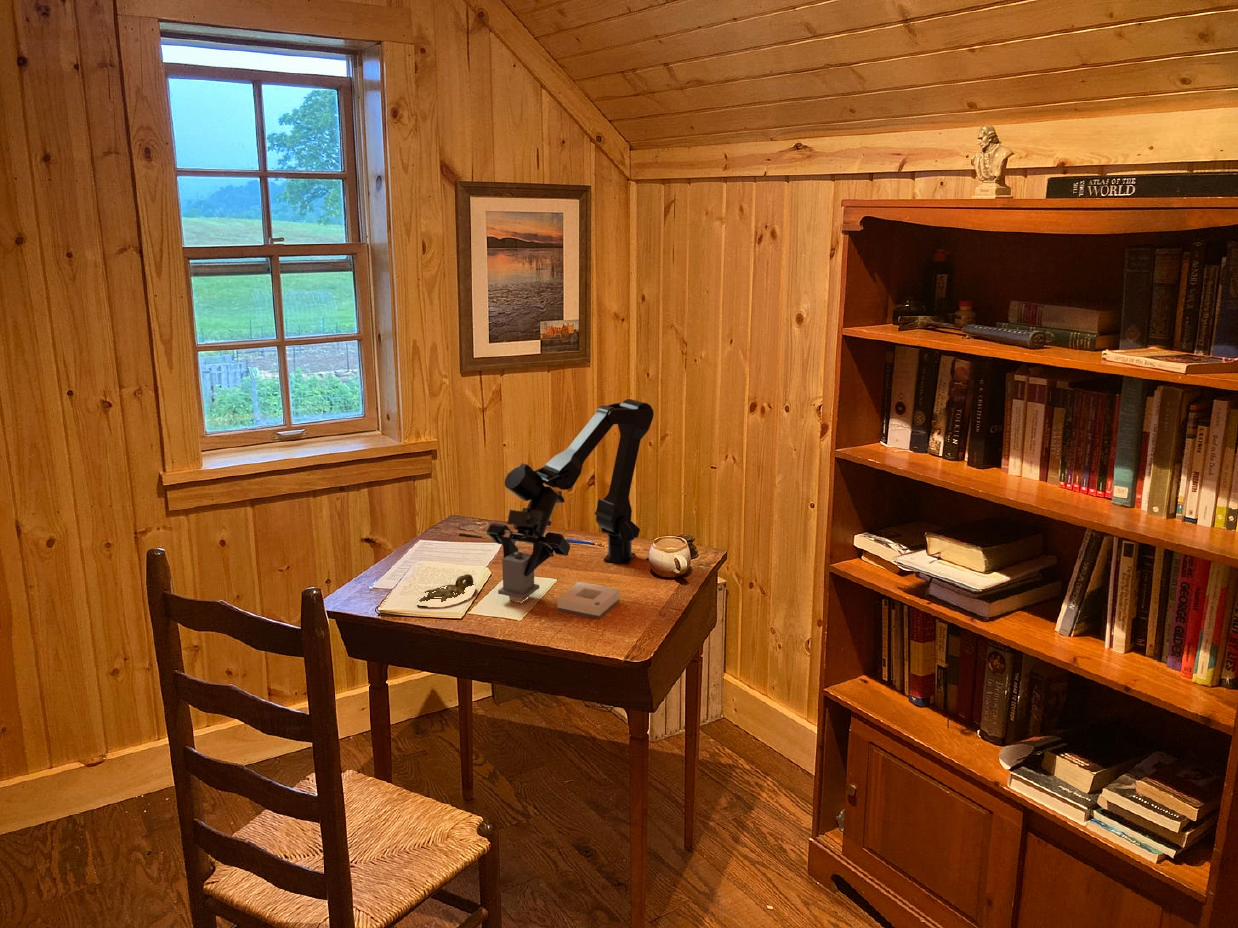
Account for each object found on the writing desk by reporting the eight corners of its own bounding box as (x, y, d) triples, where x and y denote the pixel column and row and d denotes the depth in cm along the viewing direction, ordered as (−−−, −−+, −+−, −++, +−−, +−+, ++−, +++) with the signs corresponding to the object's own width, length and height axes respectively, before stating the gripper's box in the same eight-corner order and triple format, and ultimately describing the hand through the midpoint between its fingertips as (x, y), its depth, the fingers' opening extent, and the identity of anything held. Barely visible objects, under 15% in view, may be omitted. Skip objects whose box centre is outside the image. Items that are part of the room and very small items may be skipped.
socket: (579, 594, 221) (579, 580, 220) (619, 601, 217) (619, 587, 216) (557, 610, 213) (557, 596, 212) (599, 619, 209) (599, 605, 208)
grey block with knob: (514, 591, 223) (512, 545, 220) (539, 596, 220) (538, 550, 217) (498, 602, 217) (496, 555, 214) (524, 607, 214) (523, 560, 211)
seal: (431, 619, 212) (486, 598, 222) (431, 600, 210) (487, 579, 220) (406, 602, 218) (461, 582, 228) (406, 583, 216) (461, 564, 226)
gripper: (489, 488, 220) (463, 551, 213) (563, 499, 212) (538, 565, 205) (509, 511, 229) (484, 572, 222) (580, 523, 221) (557, 586, 214)
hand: (515, 573), depth 216 cm, fingers closed on grey block with knob, 5 cm apart
